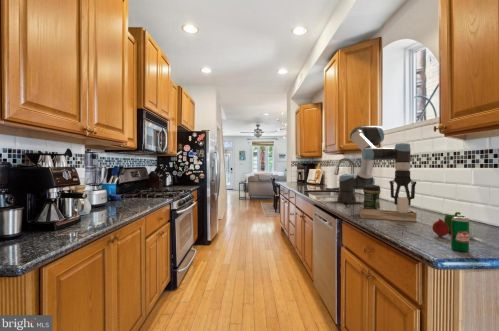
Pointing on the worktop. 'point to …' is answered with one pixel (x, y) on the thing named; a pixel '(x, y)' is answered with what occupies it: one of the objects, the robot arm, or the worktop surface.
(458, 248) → the soda can
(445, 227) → the onion
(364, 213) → the track
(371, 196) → the coffee jar
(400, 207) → the slider
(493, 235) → the worktop surface
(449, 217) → the bell pepper
